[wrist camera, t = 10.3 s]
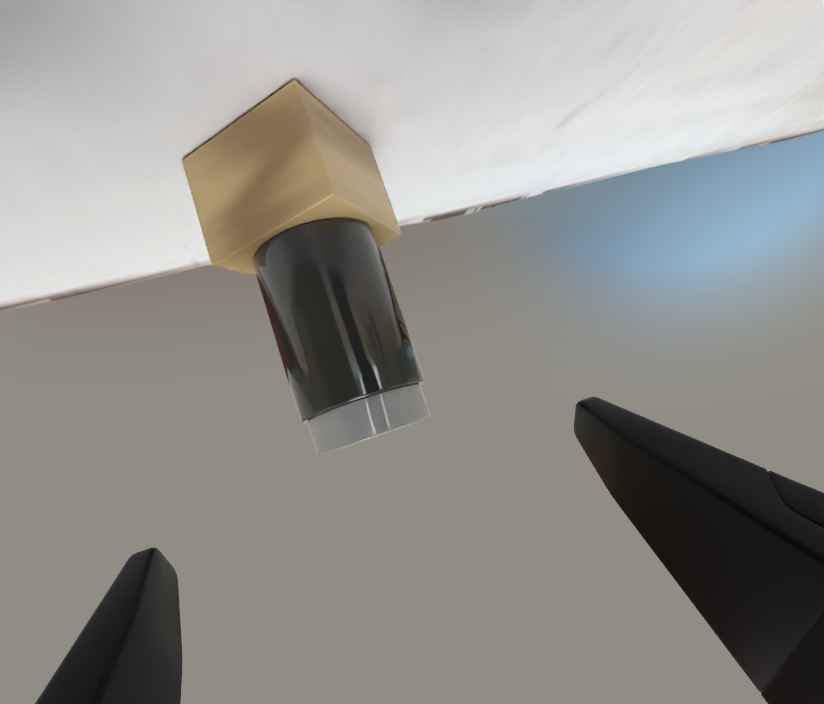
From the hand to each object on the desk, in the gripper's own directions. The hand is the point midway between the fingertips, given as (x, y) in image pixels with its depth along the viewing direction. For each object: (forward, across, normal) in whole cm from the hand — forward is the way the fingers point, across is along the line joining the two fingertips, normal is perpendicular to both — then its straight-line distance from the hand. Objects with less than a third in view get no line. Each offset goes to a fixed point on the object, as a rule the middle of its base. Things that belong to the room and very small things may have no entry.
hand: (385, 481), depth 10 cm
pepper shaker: (+10, 0, -1) cm, 10 cm away
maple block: (+13, 0, -4) cm, 13 cm away
